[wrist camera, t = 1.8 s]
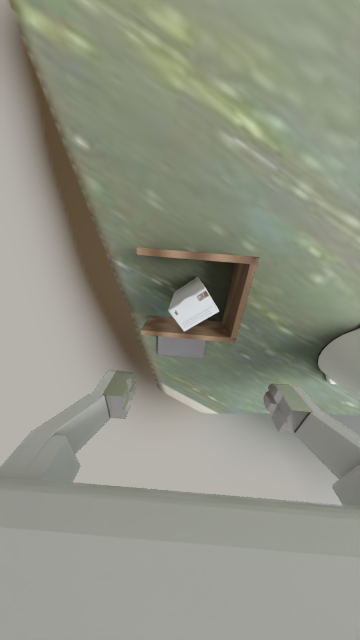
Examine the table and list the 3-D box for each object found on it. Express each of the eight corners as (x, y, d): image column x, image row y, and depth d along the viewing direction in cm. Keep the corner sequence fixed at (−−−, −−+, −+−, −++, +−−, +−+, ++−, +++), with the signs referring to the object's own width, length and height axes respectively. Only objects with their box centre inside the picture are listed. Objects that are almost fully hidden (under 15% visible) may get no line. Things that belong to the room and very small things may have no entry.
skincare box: (184, 307, 32) (183, 335, 21) (173, 290, 30) (165, 311, 19) (208, 292, 30) (221, 314, 19) (197, 274, 28) (204, 286, 18)
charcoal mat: (207, 331, 34) (207, 332, 34) (202, 357, 37) (202, 358, 37) (158, 327, 34) (157, 328, 34) (158, 353, 38) (157, 354, 37)
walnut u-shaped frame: (242, 256, 27) (259, 257, 20) (225, 325, 33) (234, 342, 27) (148, 248, 27) (136, 247, 21) (149, 319, 33) (141, 334, 27)
